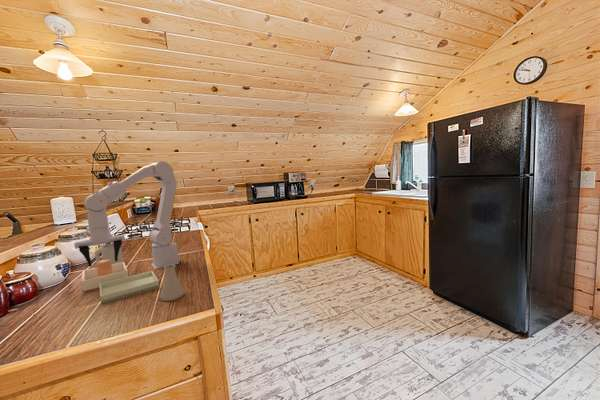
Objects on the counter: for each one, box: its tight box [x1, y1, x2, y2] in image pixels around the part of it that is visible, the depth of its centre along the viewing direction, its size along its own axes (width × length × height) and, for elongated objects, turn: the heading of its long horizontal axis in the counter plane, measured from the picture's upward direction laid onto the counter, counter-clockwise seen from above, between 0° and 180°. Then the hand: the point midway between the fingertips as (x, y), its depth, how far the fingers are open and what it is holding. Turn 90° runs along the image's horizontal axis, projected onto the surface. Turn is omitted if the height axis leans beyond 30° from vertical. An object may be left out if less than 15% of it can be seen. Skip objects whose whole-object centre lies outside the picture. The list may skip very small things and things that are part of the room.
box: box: [81, 261, 129, 292], centre depth 96 cm, size 13×13×4 cm
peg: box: [95, 259, 113, 277], centre depth 96 cm, size 4×4×7 cm
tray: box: [99, 270, 160, 305], centre depth 88 cm, size 16×12×2 cm
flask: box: [159, 264, 186, 302], centre depth 82 cm, size 7×7×10 cm
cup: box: [94, 242, 124, 264], centre depth 113 cm, size 7×10×9 cm
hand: (103, 263), depth 96 cm, fingers open, 7 cm apart
